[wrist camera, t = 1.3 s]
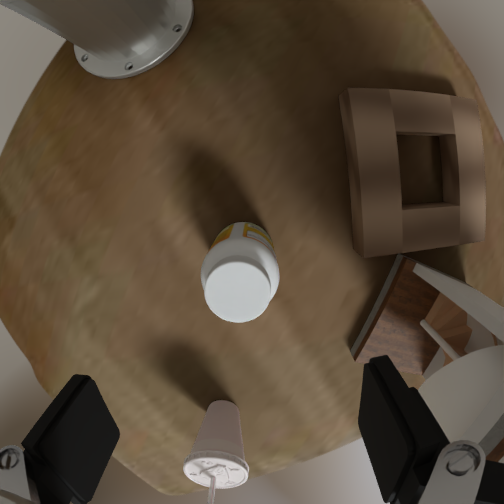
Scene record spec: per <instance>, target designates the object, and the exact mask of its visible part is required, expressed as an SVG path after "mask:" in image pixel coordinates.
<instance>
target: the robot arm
mask: <svg viewBox="0 0 504 504" xmlns="http://www.w3.org/2000/svg"><path fill="white" fill-rule="evenodd" d="M0 4H1V5H3V6H5V7H7V8H9V9H11V10H13V11H15V12H17V13H19V14H21V15H23V16H25V17H27V18H29V19H30V20H32V21H34V22H36V23H38V24H40V25H42V26H43V27H45V28H47V29H49V30H51V31H52V32H54V33H56V34H58V35H59V36H61V37H63V38H65V39H66V40H68V41H70V42H71V43H73V44H74V52H75V55H76V59H77V60H78V62H79V63H80V65H81V66H82V67H83V68H84V69H85V70H86V71H88V72H90V73H92V74H93V75H96V76H99V77H101V78H107V79H121V78H127V77H131V76H135V75H138V74H140V73H142V72H145V71H147V70H149V69H151V68H152V67H154V66H156V65H158V64H159V63H160V62H162V61H163V60H164V59H166V58H167V57H168V56H169V55H170V54H171V53H172V52H173V51H174V50H175V49H176V48H177V47H178V46H179V45H180V44H181V42H182V41H183V39H184V38H185V37H186V35H187V33H188V31H189V29H190V27H191V24H192V20H193V17H194V5H193V1H192V0H0ZM179 30H181V31H179ZM178 31H179V32H178ZM131 67H132V69H131ZM358 425H359V429H360V432H361V435H362V438H363V440H364V443H365V446H366V449H367V452H368V455H369V458H370V461H371V464H372V467H373V470H374V473H375V476H376V479H377V482H378V485H379V488H380V492H381V495H382V498H383V501H384V502H385V503H388V502H390V504H504V463H500V462H495V461H489V460H485V458H486V456H485V453H484V451H483V449H482V448H481V447H480V446H479V445H478V444H476V443H475V442H472V441H468V440H459V441H454V442H452V443H450V442H449V440H448V438H447V437H446V435H445V433H444V432H443V430H442V428H441V427H440V425H439V423H438V422H437V420H436V418H435V417H434V415H433V414H432V412H431V410H430V409H429V407H428V406H427V404H426V403H425V401H424V399H423V398H422V396H421V395H420V393H419V392H418V390H417V389H416V388H414V387H411V388H408V386H407V384H406V383H405V381H404V380H403V378H402V376H401V375H400V373H399V372H398V370H397V368H396V367H395V365H394V364H393V362H392V361H391V359H390V358H389V356H388V355H382V356H378V357H373V358H370V360H369V363H365V364H364V371H363V382H362V392H361V401H360V409H359V417H358ZM119 437H120V432H119V429H118V427H117V425H116V423H115V421H114V419H113V418H112V416H111V414H110V412H109V410H108V408H107V406H106V404H105V402H104V400H103V398H102V396H101V394H100V392H99V389H98V387H97V385H96V383H95V381H94V380H92V379H91V377H90V376H88V375H79V374H75V375H73V376H72V377H71V379H70V380H69V381H68V382H67V384H66V385H65V386H64V387H63V389H62V390H61V391H60V393H59V394H58V395H57V396H56V398H55V399H54V400H53V402H52V403H51V404H50V405H49V407H48V408H47V409H46V411H45V412H44V413H43V415H42V416H41V417H40V418H39V420H38V421H37V422H36V424H35V425H34V427H33V428H32V429H31V431H30V432H29V433H28V435H27V436H26V438H25V439H24V440H23V441H22V443H21V444H22V446H23V447H24V448H25V450H24V452H23V451H22V450H21V449H20V448H19V447H17V446H14V445H10V446H6V447H3V448H2V449H0V504H69V503H70V501H71V502H72V503H73V504H87V502H89V501H91V499H92V497H93V495H94V493H95V490H96V488H97V486H98V483H99V481H100V479H101V477H102V474H103V472H104V470H105V468H106V466H107V463H108V461H109V459H110V456H111V455H112V453H113V450H114V448H115V446H116V444H117V442H118V440H119Z"/></svg>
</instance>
